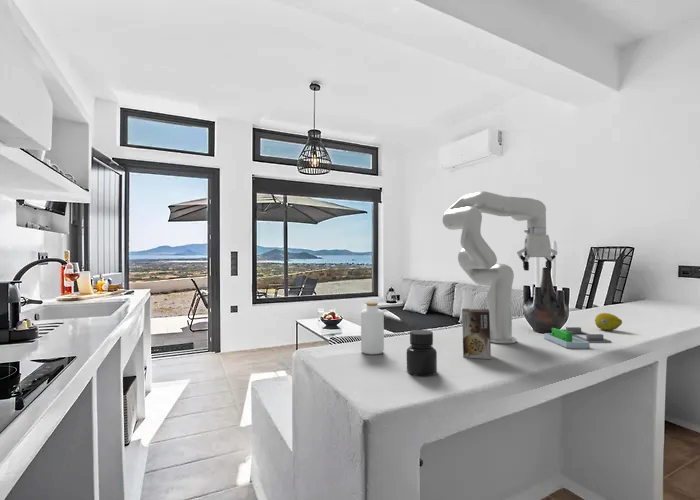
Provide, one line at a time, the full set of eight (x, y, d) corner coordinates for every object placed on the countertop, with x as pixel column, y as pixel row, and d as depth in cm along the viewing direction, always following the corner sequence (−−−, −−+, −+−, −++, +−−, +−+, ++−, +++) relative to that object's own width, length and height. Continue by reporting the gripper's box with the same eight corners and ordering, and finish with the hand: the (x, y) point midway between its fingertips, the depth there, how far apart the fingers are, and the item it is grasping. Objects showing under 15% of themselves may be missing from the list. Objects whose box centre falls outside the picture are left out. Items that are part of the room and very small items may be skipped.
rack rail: (588, 342, 140) (588, 336, 140) (559, 332, 160) (559, 326, 160) (611, 342, 140) (611, 335, 140) (579, 331, 160) (579, 326, 160)
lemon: (590, 329, 166) (589, 312, 166) (601, 327, 169) (601, 311, 169) (614, 333, 156) (613, 315, 156) (625, 332, 159) (625, 314, 159)
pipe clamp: (576, 345, 134) (576, 333, 134) (566, 345, 134) (566, 333, 134) (561, 338, 145) (561, 327, 145) (551, 338, 145) (551, 327, 145)
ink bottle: (444, 373, 104) (443, 333, 105) (422, 379, 100) (422, 336, 100) (420, 365, 113) (420, 327, 113) (399, 370, 108) (399, 331, 108)
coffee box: (490, 354, 124) (489, 308, 124) (491, 359, 118) (490, 311, 118) (462, 352, 127) (462, 307, 127) (462, 357, 121) (461, 310, 121)
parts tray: (566, 348, 132) (566, 342, 132) (544, 338, 147) (544, 333, 147) (589, 348, 132) (589, 342, 132) (565, 338, 147) (565, 333, 147)
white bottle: (387, 350, 130) (386, 302, 131) (379, 356, 123) (378, 304, 123) (366, 348, 134) (365, 301, 134) (357, 354, 126) (357, 303, 127)
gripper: (520, 231, 154) (521, 270, 154) (561, 231, 154) (561, 270, 153) (513, 232, 161) (514, 270, 161) (551, 232, 161) (552, 269, 161)
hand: (537, 270), depth 157 cm, fingers open, 9 cm apart
